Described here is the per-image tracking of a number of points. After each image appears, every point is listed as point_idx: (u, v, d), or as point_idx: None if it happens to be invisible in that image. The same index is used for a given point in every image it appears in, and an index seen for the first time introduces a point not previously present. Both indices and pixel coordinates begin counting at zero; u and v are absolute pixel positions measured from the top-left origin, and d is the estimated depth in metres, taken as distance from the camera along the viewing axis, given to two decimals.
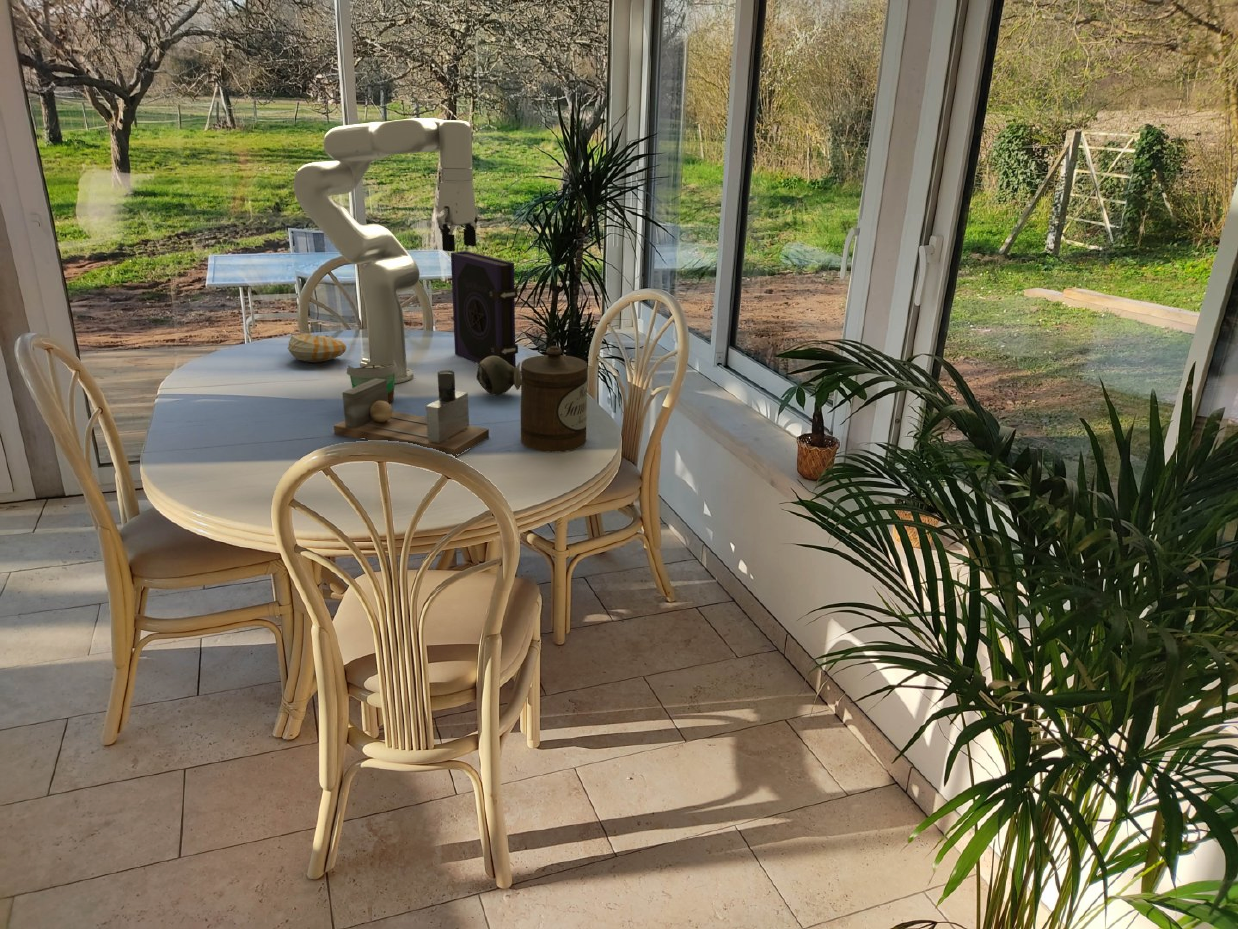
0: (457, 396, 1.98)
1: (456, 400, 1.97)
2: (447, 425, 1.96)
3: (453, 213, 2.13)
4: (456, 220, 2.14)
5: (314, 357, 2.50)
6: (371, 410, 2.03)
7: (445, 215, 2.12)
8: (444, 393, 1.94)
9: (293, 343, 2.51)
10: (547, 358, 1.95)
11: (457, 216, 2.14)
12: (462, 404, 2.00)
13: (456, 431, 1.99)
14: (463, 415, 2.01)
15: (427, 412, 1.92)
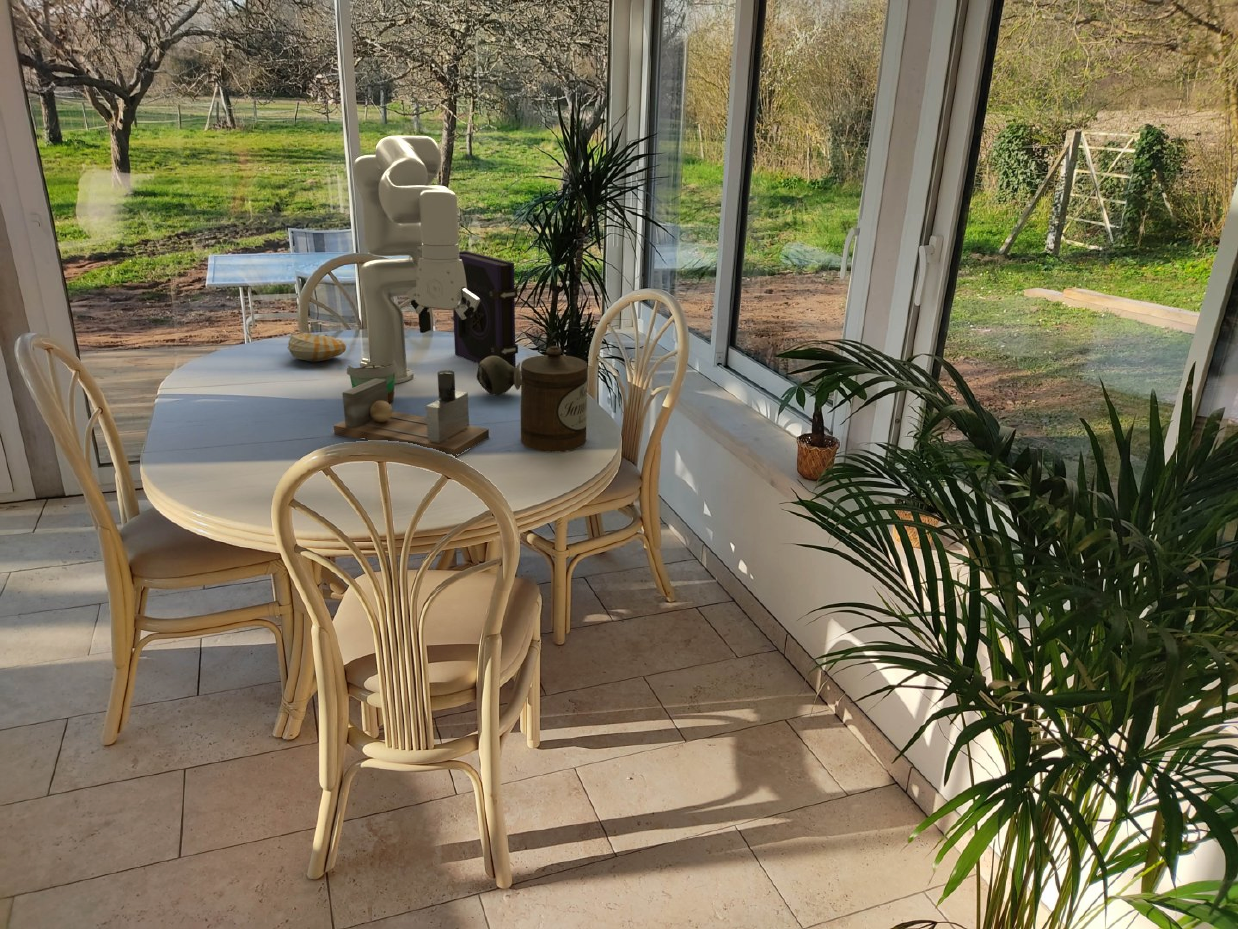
0: (457, 396, 1.98)
1: (456, 400, 1.97)
2: (447, 425, 1.96)
3: None
4: None
5: (314, 356, 2.51)
6: (371, 410, 2.03)
7: None
8: (444, 393, 1.94)
9: (293, 342, 2.52)
10: (547, 358, 1.95)
11: None
12: (462, 404, 2.00)
13: (456, 431, 1.99)
14: (463, 415, 2.01)
15: (427, 412, 1.92)
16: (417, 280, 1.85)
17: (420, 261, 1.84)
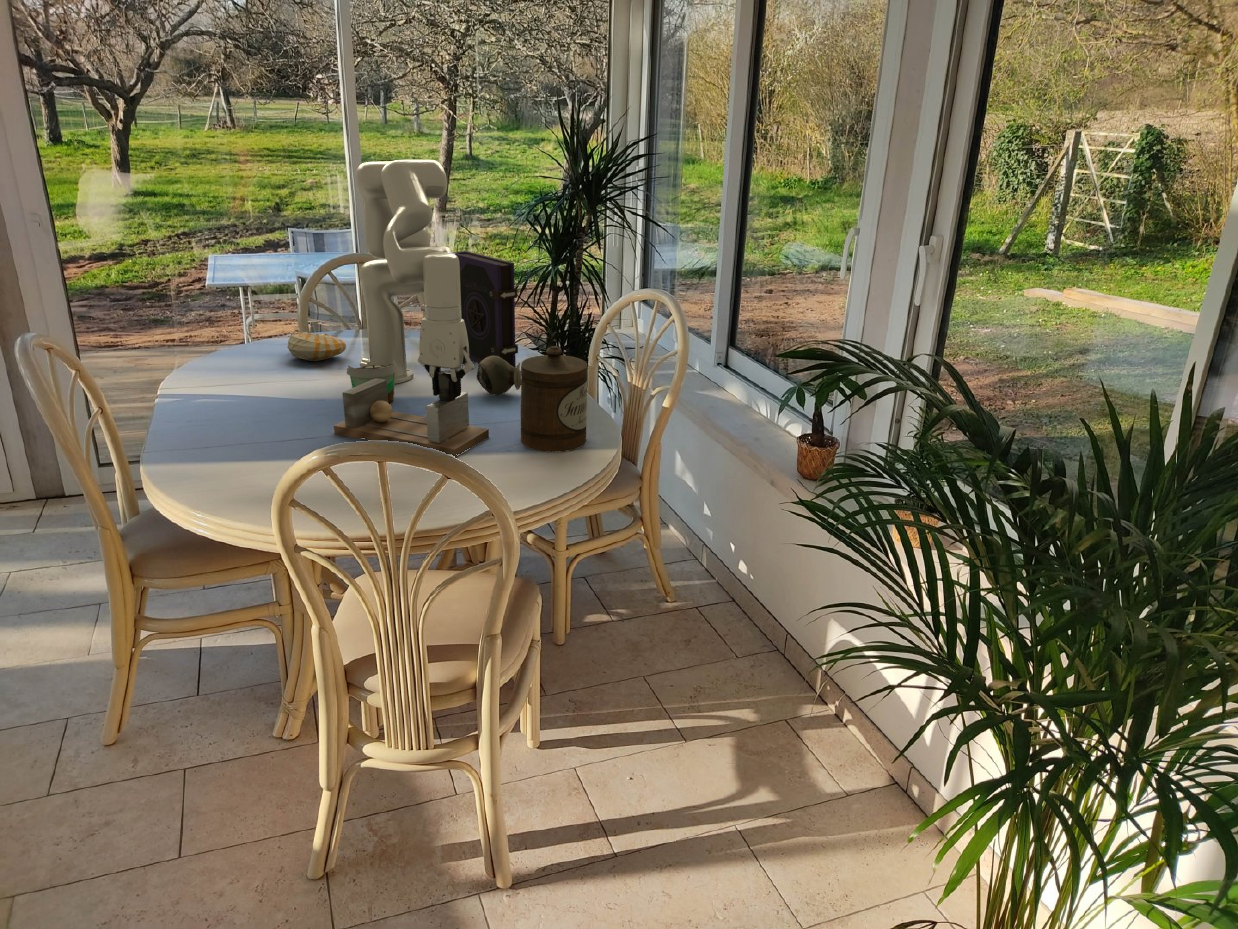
0: None
1: (456, 400, 1.97)
2: (447, 425, 1.96)
3: None
4: None
5: (315, 355, 2.51)
6: (371, 410, 2.03)
7: None
8: (444, 393, 1.94)
9: (293, 342, 2.52)
10: (547, 358, 1.95)
11: None
12: (462, 404, 2.00)
13: (456, 431, 1.99)
14: (463, 415, 2.01)
15: (427, 412, 1.92)
16: (421, 339, 1.90)
17: (423, 321, 1.89)
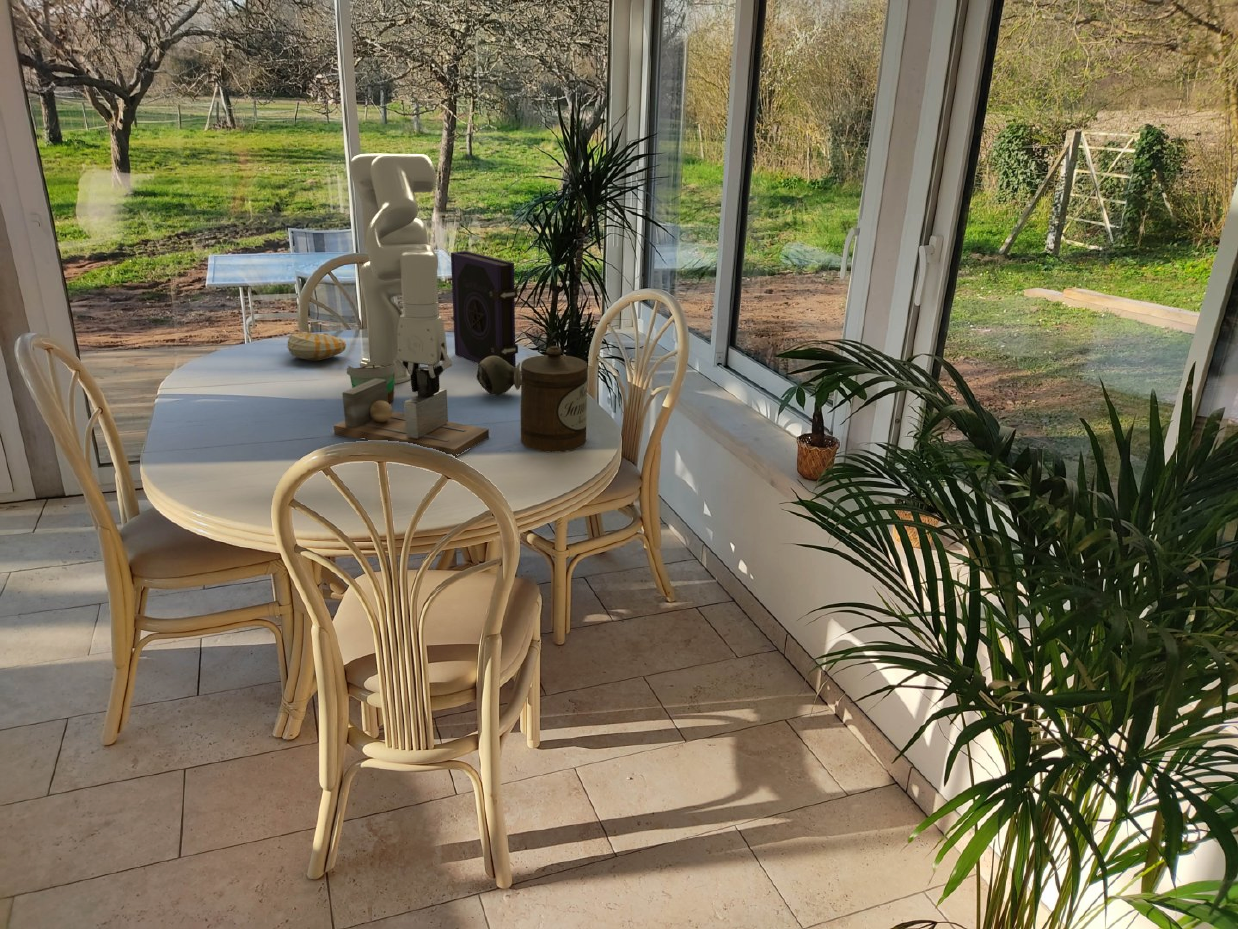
0: None
1: (435, 396, 1.99)
2: (426, 421, 1.98)
3: (446, 347, 1.94)
4: None
5: (315, 355, 2.52)
6: (371, 410, 2.03)
7: None
8: (422, 389, 1.96)
9: (293, 342, 2.52)
10: (547, 358, 1.95)
11: None
12: (441, 400, 2.02)
13: (435, 427, 2.01)
14: (442, 411, 2.03)
15: (405, 408, 1.94)
16: (399, 335, 1.92)
17: (401, 318, 1.91)
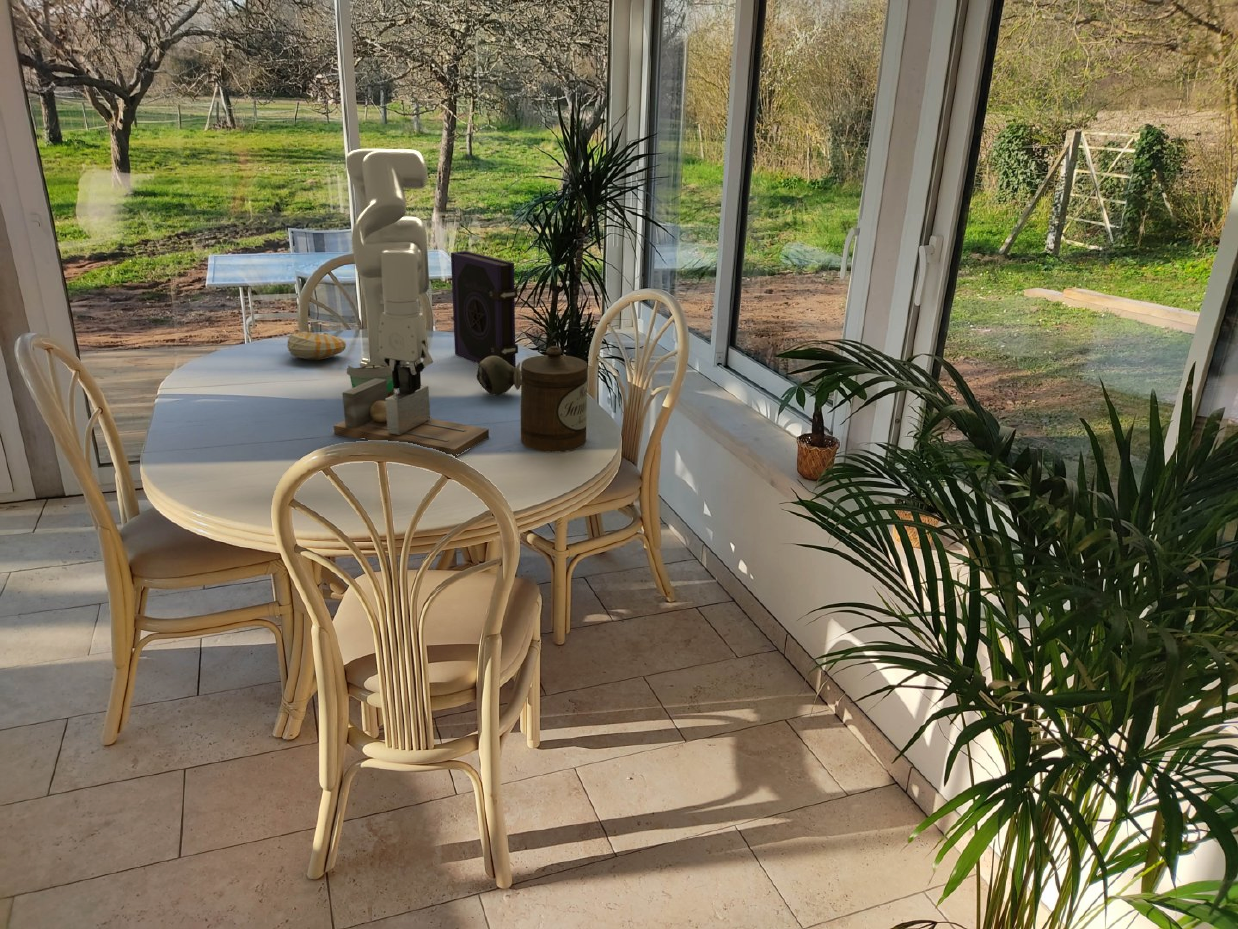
0: None
1: (416, 393, 2.01)
2: (407, 417, 1.99)
3: (427, 345, 1.95)
4: None
5: (316, 354, 2.52)
6: (371, 410, 2.03)
7: None
8: (403, 386, 1.98)
9: (294, 341, 2.53)
10: (547, 358, 1.95)
11: None
12: (423, 397, 2.03)
13: (417, 423, 2.03)
14: (424, 408, 2.05)
15: (387, 405, 1.96)
16: (380, 333, 1.94)
17: (382, 315, 1.93)
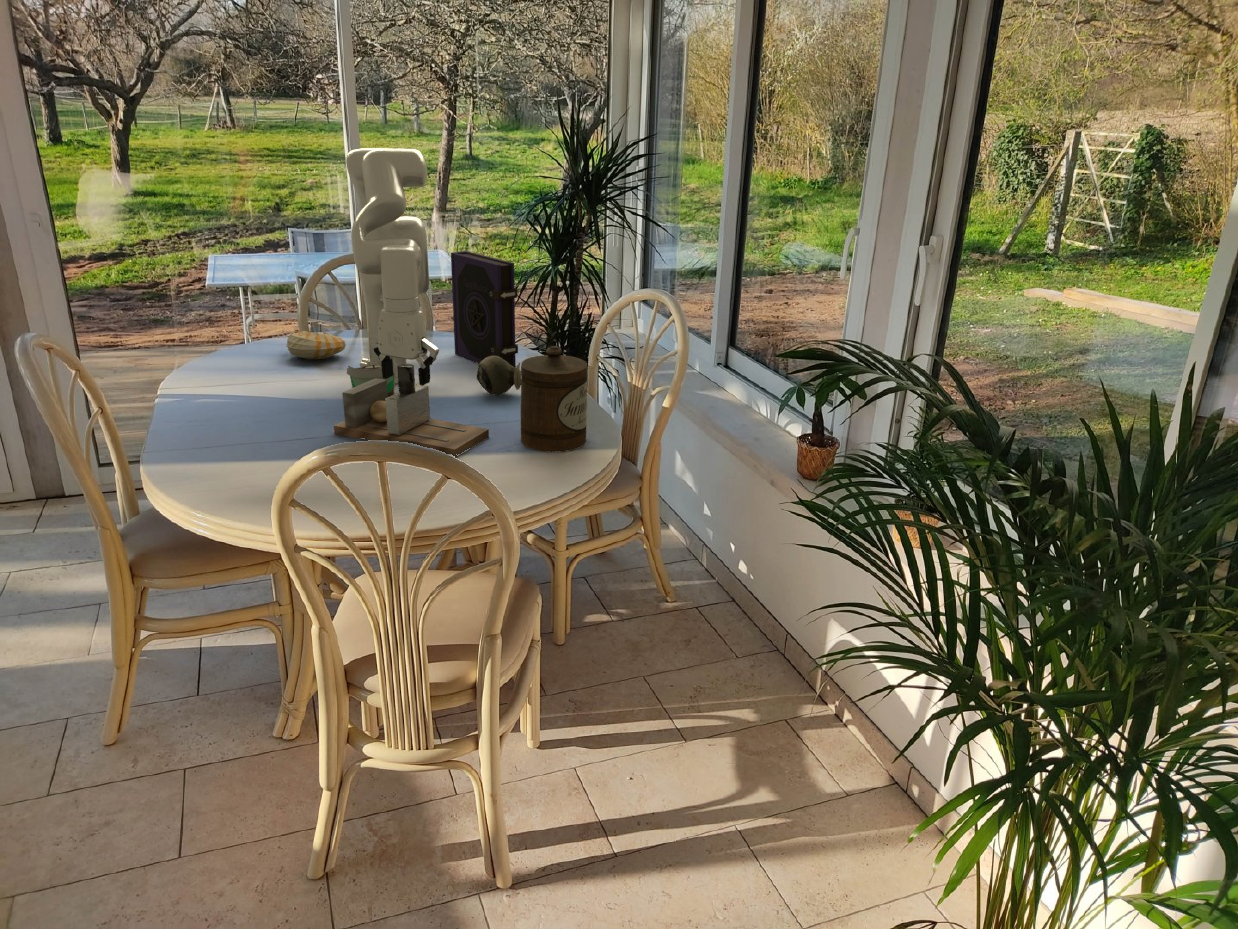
0: (417, 389, 2.02)
1: (416, 393, 2.01)
2: (407, 417, 1.99)
3: None
4: None
5: (316, 354, 2.53)
6: (371, 410, 2.03)
7: None
8: (403, 386, 1.98)
9: (294, 341, 2.53)
10: (547, 358, 1.95)
11: None
12: (422, 397, 2.03)
13: (417, 423, 2.03)
14: (424, 408, 2.05)
15: (387, 405, 1.96)
16: (379, 330, 1.94)
17: (382, 312, 1.92)
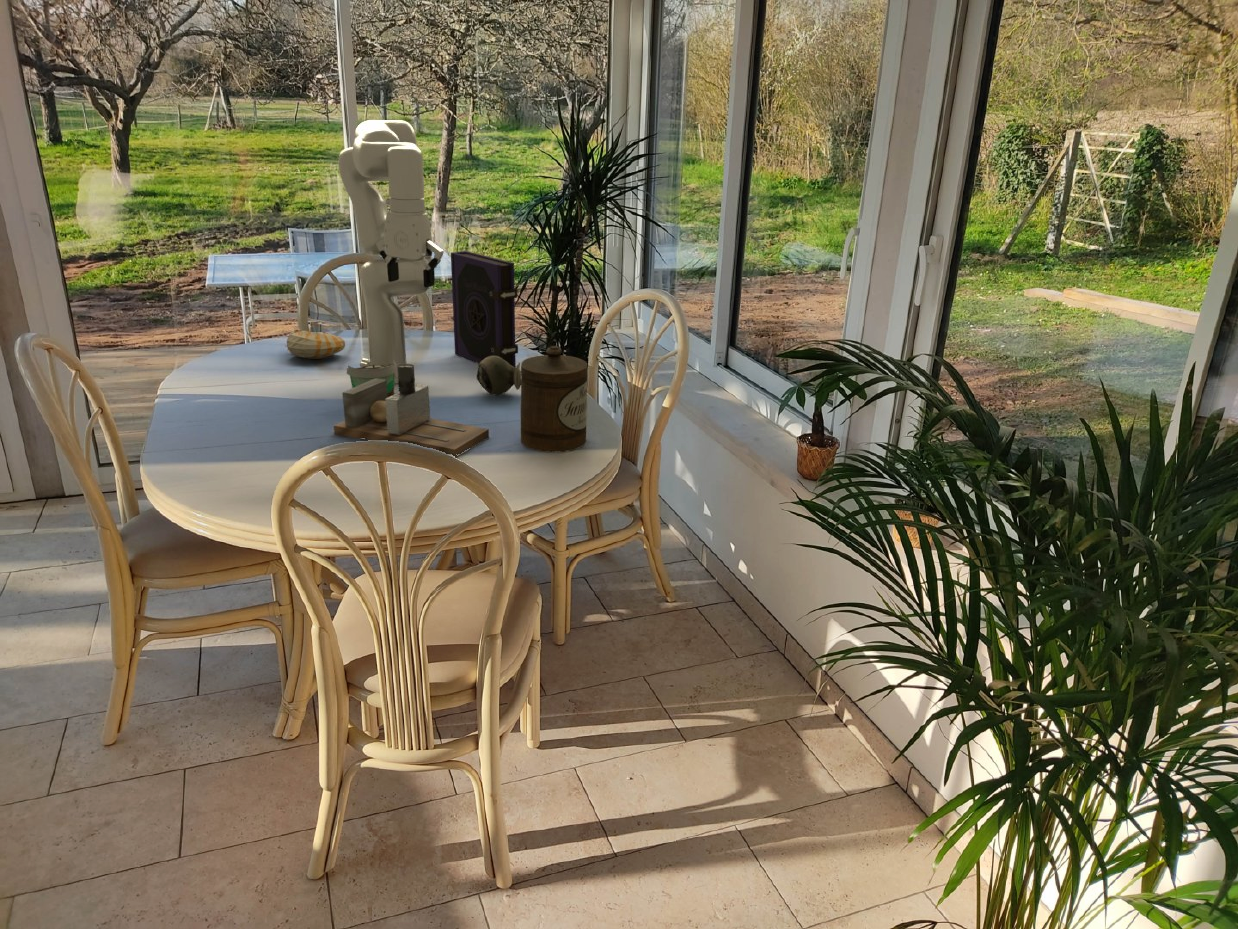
0: (417, 389, 2.02)
1: (416, 393, 2.01)
2: (407, 417, 1.99)
3: None
4: None
5: (316, 353, 2.53)
6: (371, 410, 2.03)
7: None
8: (403, 386, 1.98)
9: (294, 341, 2.53)
10: (547, 358, 1.95)
11: None
12: (422, 397, 2.03)
13: (417, 423, 2.03)
14: (424, 408, 2.05)
15: (387, 405, 1.96)
16: (385, 231, 1.99)
17: (388, 214, 1.97)
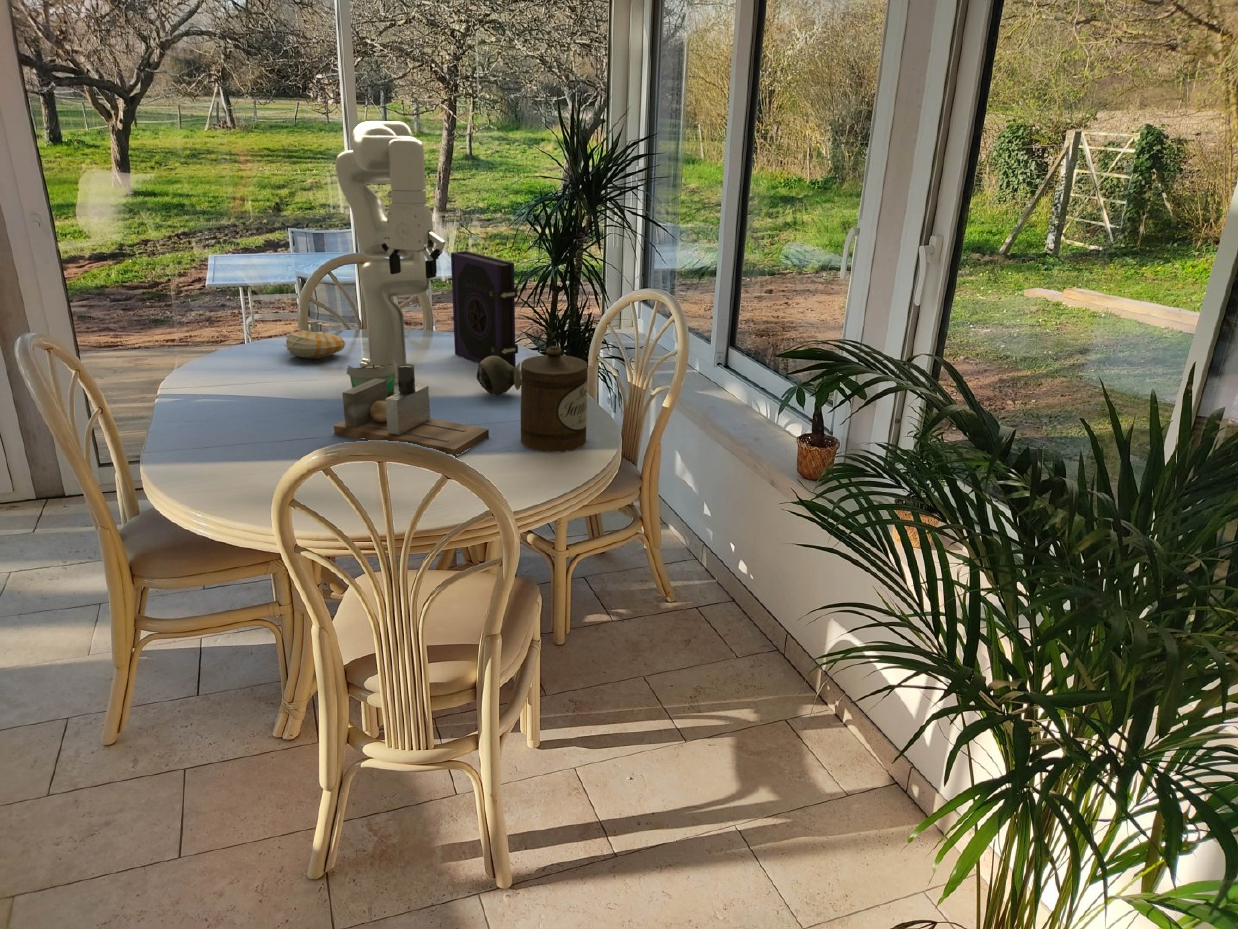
0: (417, 389, 2.02)
1: (416, 393, 2.01)
2: (407, 417, 1.99)
3: None
4: None
5: (316, 353, 2.54)
6: (371, 410, 2.03)
7: None
8: (403, 386, 1.98)
9: (293, 340, 2.54)
10: (547, 358, 1.95)
11: None
12: (422, 397, 2.03)
13: (417, 423, 2.03)
14: (424, 408, 2.05)
15: (387, 405, 1.96)
16: (387, 223, 2.00)
17: (390, 206, 1.99)
